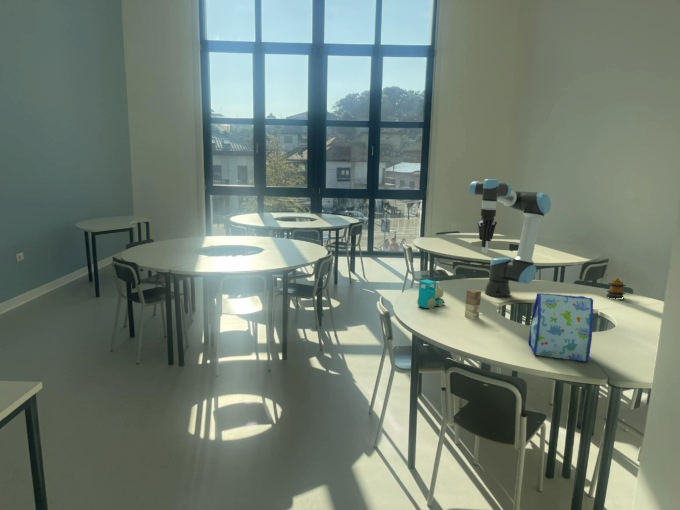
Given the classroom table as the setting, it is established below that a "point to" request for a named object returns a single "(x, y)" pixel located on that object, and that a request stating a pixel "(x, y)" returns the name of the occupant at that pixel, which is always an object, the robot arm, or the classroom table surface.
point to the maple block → (472, 311)
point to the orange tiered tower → (616, 289)
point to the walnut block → (473, 297)
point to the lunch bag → (562, 326)
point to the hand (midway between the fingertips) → (484, 252)
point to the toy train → (430, 294)
